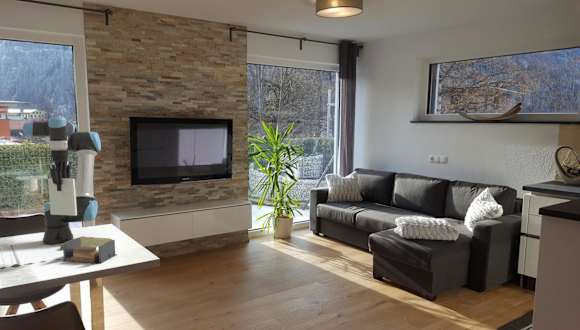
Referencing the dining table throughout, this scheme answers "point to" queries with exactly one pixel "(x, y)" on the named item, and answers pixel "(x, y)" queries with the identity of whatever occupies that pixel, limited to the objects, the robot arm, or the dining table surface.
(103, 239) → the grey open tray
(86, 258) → the offcut bottom
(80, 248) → the offcut top
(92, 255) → the offcut middle
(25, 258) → the dining table surface
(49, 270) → the dining table surface
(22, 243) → the dining table surface
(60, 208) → the sheet
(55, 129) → the robot arm
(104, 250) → the rack
